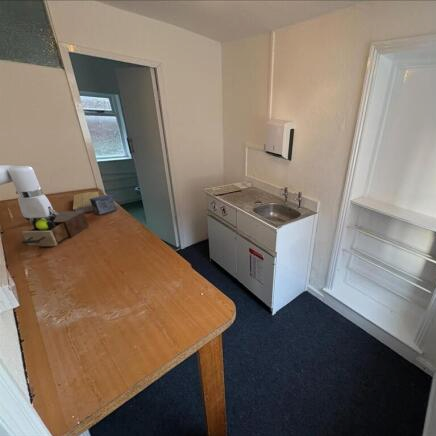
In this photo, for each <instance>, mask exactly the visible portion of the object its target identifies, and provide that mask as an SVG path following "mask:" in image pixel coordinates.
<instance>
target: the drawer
mask: <svg viewBox="0 0 436 436" xmlns="http://www.w3.org/2000/svg"><path fill="white" fill-rule="evenodd" d="M55 225H56V227H55V228H53V229H51V230H50V229H47V230H40V229H39V230H35V228H34V227H32V228H30V229H27V230H23V231H21V234H22V236H23V238H24V240H22V241H21V243H22V244H26V245H27V246H29V247H30V246H38V247H56V246H58V245H59V244H58V243H60V242H61V241H63V240H65V239H67V238H66V237H67V236H69V234H68V232H67V229H66V226H65V224H64V223H55Z"/></svg>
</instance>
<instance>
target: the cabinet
mask: <svg viewBox="0 0 436 436" xmlns="http://www.w3.org/2000/svg"><path fill="white" fill-rule="evenodd" d="M56 212H57V213H58V214H59V215H58V216H57V217H56V218H55V220H53V221H54V223H64V224H65V226H66V229H67V232H68V234H69V236H67V237H66V238H65V239H73V238H74V237H75V236H77V235H78V234H80V233H81V232H83V231H85V230H86V229H88V228H89V227H90V226H89V225H90V224H89V221H88V219H87V215H86V212H84V211H75V210H64V211H63V210H62V211H60V210H59V211H56ZM51 215H52V216H53V214H51ZM44 219H45V218H44ZM49 219H50V218H49Z"/></svg>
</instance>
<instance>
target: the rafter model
mask: <svg viewBox="0 0 436 436" xmlns="http://www.w3.org/2000/svg"><path fill="white" fill-rule="evenodd" d="M99 196H100V192H99V191H90V192H88V191H87V192H82V193H76V194H73V206H72V210H74V211H84V213H89V212H94V210H93V207H92V204H91V201H90V199H91V198H95V197H99Z"/></svg>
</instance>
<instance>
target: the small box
mask: <svg viewBox="0 0 436 436" xmlns="http://www.w3.org/2000/svg"><path fill="white" fill-rule="evenodd" d="M90 201H91V204H92V207H93V210H94V211H93V213H94V214H95V215H98V216H102V215H106V214H109V213H112V211H113V212H115V211H117V207H116V204H115V201H114V197H113V195H110V194H104V195H99V197H94V198H91V199H90Z"/></svg>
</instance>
